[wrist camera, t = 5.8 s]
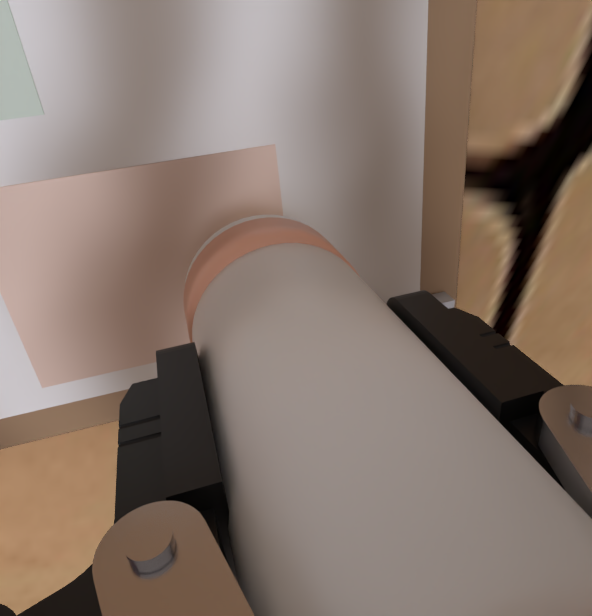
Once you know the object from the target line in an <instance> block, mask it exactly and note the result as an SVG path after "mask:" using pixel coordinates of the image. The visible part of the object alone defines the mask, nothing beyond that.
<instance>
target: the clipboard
mask: <svg viewBox="0 0 592 616" xmlns="http://www.w3.org/2000/svg"><path fill="white" fill-rule="evenodd" d="M476 11H477V0H0V449H4V448H8V447H12V446H16V445H20V444H24V443H28V442H32V441H36V440H40V439H44V438H49V437H53V436H57V435H61V434H65V433H69V432H73V431H77V430H81V429H85V428H89V427H93V426H97V425H102V424H106V423H110V422H114V421H118V420H119V409H120V403H121V401H122V400H123V398H124V396H125V395H126V393H127V392H128V390H129V388H130V387H131V385H132V384H133V383H137V382H141V381H146V380H150V379H154V378H157V363H156V351H157V350H161V349H166V348H170V347H174V346H179V345H183V344H187V343H190V339H189V334H188V328H187V323H186V317H185V311H184V286H185V279H186V275H187V272H188V268H189V266H190V264H191V262H192V260H193V258H194V256H195V255H196V253H197V251H198V250H199V249H200V247H201V246H202V245H203V244H204V243H205V241H207V240H208V239H209V238H210V237H211V236H212V235H213V234H214V233H216V232H217V231H218V230H220V229H221V228H223V227H225V226H226V225H228V224H230V223H232V222H234V221H237V220H240V219H242V218H246V217H250V216H255V215H280V216H286V217H289V218H293V219H296V220H298V221H300V222H302V223H304V224H306V225H308V226H310V227H311V228H313V229H314V230H316V231H318V232H319V233H320V234H321V235H322V236H323V237H325V238H326V239H327V240H328V241H329V242H330V243H331V244H332V245H333V246H334V247H335V249H336V250H337V251H338V252H339V253H340V254H341V255H342V256H343V257H344V258H345V259H346V260H347V261H348V262H349V263H350V264H351V265H352V266H353V268H354V269H355V270H356V271H357V273H358V275H359V276H360V278H361V279H362V280H363V281H364V282H365V283H366V284H367V285H368V286H369V287H370V288H371V289H372V290H373V291H374V292H375V293H376V294H377V295H378V296H379V297H380V299H381V300H382V301H383V302H384V303H385V304H386V305H387V301H388V299H389V298H391V297H395V296H400V295H404V294H409V293H413V292H417V291H422V290H426V291H428V292H429V293H430V294H432V295H433V296H434V297H435V298H436V299H438V300H439V301H440V302H441V303H442V304H443V305H445V306H446V307H447V308H448V309H450V308H454V307H455V308H456V296H457V282H458V268H459V253H460V239H461V225H462V211H463V196H464V182H465V168H466V154H467V139H468V125H469V111H470V96H471V82H472V68H473V54H474V39H475V25H476Z"/></svg>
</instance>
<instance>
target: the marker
mask: <svg viewBox="0 0 592 616" xmlns="http://www.w3.org/2000/svg"><path fill="white" fill-rule="evenodd" d="M184 311H185V317H186V323H187V328H188V334H189V339H190V343H192V342H195V346H196V350H197V354H198V358H199V363H200V368H201V373H202V378H203V383H204V388H205V393H206V398H207V403H208V408H209V413H210V418H211V423H212V428H213V433H214V438H215V443H216V448H217V453H218V458H219V463H220V468H221V473H222V478H223V483H224V488H225V493H226V498H227V503H228V508H229V524H228V530H229V537H230V543H231V548H232V554H233V559H234V564H235V569H236V575H237V580H238V584H239V586H240V588H241V590H242V592H243V594H244V596H245V598H246V600H247V602H248V604H249V606H250V607H251V609H252V611H253V613H254V615H255V616H592V518H591V517H590V516H589V515H588V514H587V513H586V512H585V511H584V510H583V509H582V508H581V507H580V506H579V505H578V504H577V503H576V502H575V501H574V500H573V499H572V498H571V496H570V495H569V494H568V493H567V492H566V491H565V490H564V489H563V488H562V487H561V486H560V485H559V484H558V483H557V482H556V481H555V480H554V479H553V478H552V477H551V476H550V475H549V474H548V473H547V471H546V470H545V469H544V468H543V467H542V466H541V465H540V464H539V463H538V462H537V461H536V460H535V459H534V458H533V457H532V456H531V455H530V454H529V453H528V452H527V451H526V450H525V449H524V448H523V446H522V445H521V444H520V443H519V442H518V441H517V440H516V439H515V438H514V437H513V436H512V435H511V434H510V433H509V432H508V431H507V430H506V429H505V428H504V427H503V426H502V425H501V424H500V423H499V421H498V420H497V419H496V418H495V417H494V416H493V415H492V414H491V413H490V412H489V411H488V410H487V409H486V408H485V407H484V406H483V405H482V404H481V403H480V402H479V401H478V400H477V399H476V398H475V396H474V395H473V394H472V393H471V392H470V391H469V390H468V389H467V388H466V387H465V386H464V385H463V384H462V383H461V382H460V381H459V380H458V379H457V378H456V377H455V376H454V375H453V374H452V373H451V371H450V370H449V369H448V368H447V367H446V366H445V365H444V364H443V363H442V362H441V361H440V360H439V359H438V358H437V357H436V356H435V355H434V354H433V353H432V352H431V351H430V350H429V349H428V348H427V346H426V345H425V344H424V343H423V342H422V341H421V340H420V339H419V338H418V337H417V336H416V335H415V334H414V333H413V332H412V331H411V330H410V329H409V328H408V327H407V326H406V325H405V324H404V323H403V321H402V320H401V319H400V318H399V317H398V316H397V315H396V314H395V313H394V312H393V311H392V310H391V309H390V308H389V307H388V306H387V305H386V304H385V303H384V302H383V301H382V300H381V299H380V297H379V296H378V295H377V294H376V293H375V292H374V291H373V290H372V289H371V288H370V287H369V286H368V285H367V284H366V283H365V282H364V281H363V280H362V279H361V278H360V276H359V275H358V273H357V271H356V270H355V269H354V268H353V266H352V265H351V264H350V263H349V262H348V261H347V260H346V259H345V258H344V257H343V256H342V255H341V254H340V253H339V252H338V251H337V250H336V249H335V247H334V246H333V245H332V244H331V243H330V242H329V241H328V240H327V239H326V238H325V237H323V236H322V235H321V234H320V233H319V232H318V231H316V230H314V229H313V228H311V227H310V226H308V225H306V224H304V223H302V222H300V221H298V220H296V219H293V218H289V217H286V216H280V215H255V216H250V217H246V218H242V219H240V220H237V221H234V222H232V223H230V224H228V225H226V226H225V227H223V228H221V229H220V230H218V231H217V232H216V233H214V234H213V235H212V236H211V237H210V238H209V239H208V240H207V241H205V243H204V244H203V245H202V246H201V247H200V249H199V250H198V251H197V253H196V255H195V256H194V258H193V260H192V262H191V264H190V266H189V268H188V272H187V275H186V279H185V286H184Z"/></svg>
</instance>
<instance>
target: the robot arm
mask: <svg viewBox="0 0 592 616" xmlns="http://www.w3.org/2000/svg"><path fill="white" fill-rule="evenodd" d="M387 306H388V307H389V308H390V309H391V310H392V311H393V312H394V313H395V314H396V315H397V316H398V317H399V318H400V319H401V320H402V321H403V323H404V324H405V325H406V326H407V327H408V328H409V329H410V330H411V331H412V332H413V333H414V334H415V335H416V336H417V337H418V338H419V339H420V340H421V341H422V342H423V343H424V344H425V345H426V346H427V348H428V349H429V350H430V351H431V352H432V353H433V354H434V355H435V356H436V357H437V358H438V359H439V360H440V361H441V362H442V363H443V364H444V365H445V366H446V367H447V368H448V369H449V370H450V371H451V373H452V374H453V375H454V376H455V377H456V378H457V379H458V380H459V381H460V382H461V383H462V384H463V385H464V386H465V387H466V388H467V389H468V390H469V391H470V392H471V393H472V394H473V395H474V396H475V398H476V399H477V400H478V401H479V402H480V403H481V404H482V405H483V406H484V407H485V408H486V409H487V410H488V411H489V412H490V413H491V414H492V415H493V416H494V417H495V418H496V419H497V420H498V421H499V423H500V424H501V425H502V426H503V427H504V428H505V429H506V430H507V431H508V432H509V433H510V434H511V435H512V436H513V437H514V438H515V439H516V440H517V441H518V442H519V443H520V444H521V445H522V446H523V448H524V449H525V450H526V451H527V452H528V453H529V454H530V455H531V456H532V457H533V458H534V459H535V460H536V461H537V462H538V463H539V464H540V465H541V466H542V467H543V468H544V469H545V470H546V471H547V473H548V474H549V475H550V476H551V477H552V478H553V479H554V480H555V481H556V482H557V483H558V484H559V485H560V486H561V487H562V488H563V489H564V490H565V491H566V492H567V493H568V494H569V495H570V496H571V498H572V499H573V500H574V501H575V502H576V503H577V504H578V505H579V506H580V507H581V508H582V509H583V510H584V511H585V512H586V513H587V514H588V515H589V516H590V517H591V518H592V387H591V386H585V385H565V386H564V385H563V384H561V383H560V382H559V381H558V380H556V379H555V378H554V377H553V376H551V375H550V374H549V373H548V372H546V371H545V370H544V369H543V368H541V367H540V366H539V365H538V364H536V363H535V362H534V361H533V360H531V359H530V358H529V357H528V356H526V355H525V354H524V353H523V352H521V351H520V350H519V349H517V348H516V347H515V346H514V345H510V343H509V341H507V340H506V339H505V338H504V337H502V336H501V335H500V334H499V333H498V334H496V333H495V330H494V329H492V328H491V327H490V326H489V325H487V324H486V323H485V322H484V321H482V320H481V319H480V318H479V317H477V316H474V315H472V314H469V313H467V312H464V311H462V310H459V309H457V308H455V307H454V308H450V309H448V308H447V307H446V306H445V305H443V304H442V303H441V302H440V301H439V300H438V299H436V298H435V297H434V296H433V295H432V294H430V293H429V292H428V291H426V290H422V291H417V292H413V293H409V294H404V295H400V296H395V297H391V298H389V299H388V301H387ZM156 363H157V378H154V379H150V380H146V381H141V382H137V383H133V384H132V385H131V387H130V388H129V390H128V392H127V393H126V395H125V396H124V398H123V400H122V401H121V403H120V409H119V428H120V429H119V432H118V445H119V448H118V455H117V478H116V501H115V520H114V525H113V526H112V527H111V528H110V529H109V530H108V532H107V533H106V534H105V535H104V537H103V538H102V540H101V542H100V543H99V545H98V547H97V550H96V552H95V555H94V559H93V564H92V565H91V566H90V567H89V568H88V569H87V570H86V571H85V572H84V573H82V574H81V575H80V576H79V577H77V578H76V579H75V580H74V581H72V582H71V583H69V584H68V585H66V586H65V587H63V588H62V589H60V590H58V591H57V592H55V593H53V594H52V595H50V596H48V597H47V598H45V599H43V600H42V601H40V602H38V603H37V604H35V605H34V606H32V607H30V608H29V609H27V610H25V611H24V612H22V613H20V614H19V615H17V616H255V615H254V613H253V611H252V609H251V607H250V606H249V604H248V602H247V600H246V598H245V596H244V594H243V592H242V590H241V588H240V586H239V584H238V580H237V575H236V569H235V564H234V559H233V554H232V548H231V543H230V537H229V530H228V524H229V508H228V503H227V498H226V493H225V488H224V483H223V478H222V473H221V468H220V463H219V458H218V453H217V448H216V443H215V438H214V433H213V428H212V423H211V418H210V413H209V408H208V403H207V398H206V393H205V388H204V383H203V378H202V373H201V368H200V363H199V358H198V354H197V350H196V346H195V342H192V343H187V344H183V345H179V346H174V347H170V348H166V349H161V350H157V351H156ZM0 616H16V614H15V613H14V612H13V611H12V610H11V609H10V608H8V607H7V606H5V605H2V604H0Z"/></svg>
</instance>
